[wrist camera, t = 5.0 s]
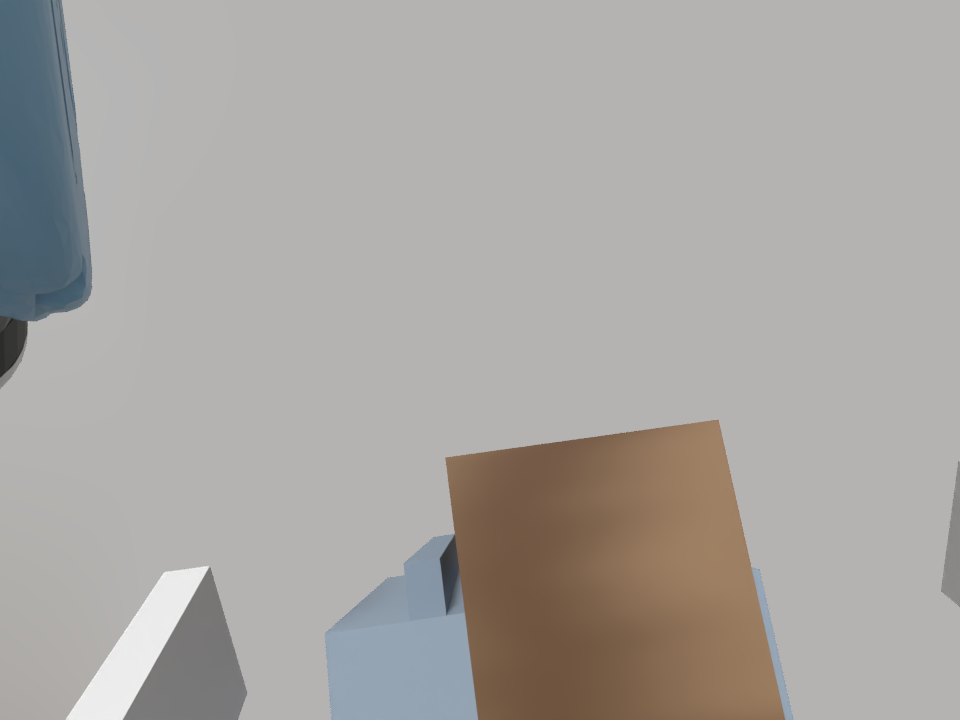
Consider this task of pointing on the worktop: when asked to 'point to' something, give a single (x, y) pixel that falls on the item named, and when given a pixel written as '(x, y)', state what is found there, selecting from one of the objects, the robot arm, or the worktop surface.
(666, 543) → the brown block
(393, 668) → the tall blue prism
